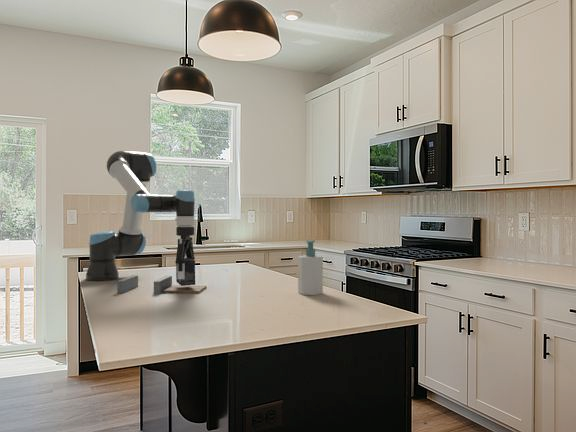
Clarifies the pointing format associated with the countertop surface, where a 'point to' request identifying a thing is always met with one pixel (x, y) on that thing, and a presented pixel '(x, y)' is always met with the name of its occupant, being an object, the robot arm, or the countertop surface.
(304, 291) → the soap bottle
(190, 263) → the small box
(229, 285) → the countertop surface
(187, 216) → the robot arm
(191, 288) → the walnut pad
